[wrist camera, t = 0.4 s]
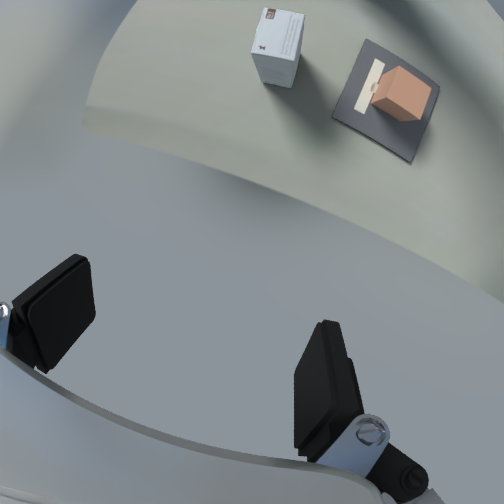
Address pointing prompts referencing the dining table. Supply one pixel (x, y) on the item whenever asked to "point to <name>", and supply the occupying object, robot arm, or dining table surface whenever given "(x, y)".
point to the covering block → (401, 95)
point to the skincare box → (278, 46)
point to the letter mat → (373, 118)
